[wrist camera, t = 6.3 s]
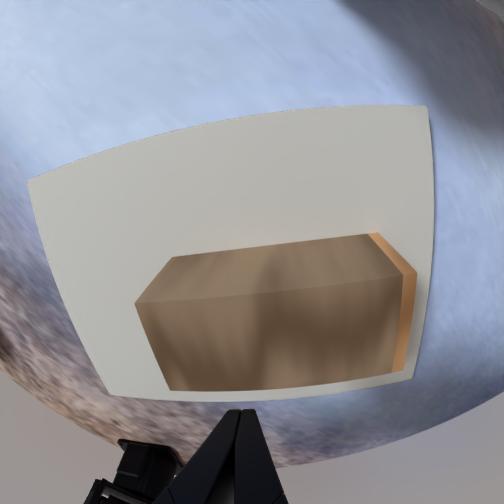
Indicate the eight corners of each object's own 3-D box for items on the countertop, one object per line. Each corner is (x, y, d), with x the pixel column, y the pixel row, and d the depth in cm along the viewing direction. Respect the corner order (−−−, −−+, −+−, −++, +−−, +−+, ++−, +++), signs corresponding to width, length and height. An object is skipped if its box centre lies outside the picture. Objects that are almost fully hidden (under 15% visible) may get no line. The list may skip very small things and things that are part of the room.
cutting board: (408, 370, 19) (412, 378, 18) (114, 386, 22) (110, 394, 21) (418, 107, 13) (427, 106, 12) (36, 178, 16) (26, 181, 15)
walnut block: (193, 332, 18) (376, 313, 16) (170, 390, 13) (403, 370, 12) (171, 256, 16) (378, 232, 14) (134, 303, 11) (417, 272, 10)
